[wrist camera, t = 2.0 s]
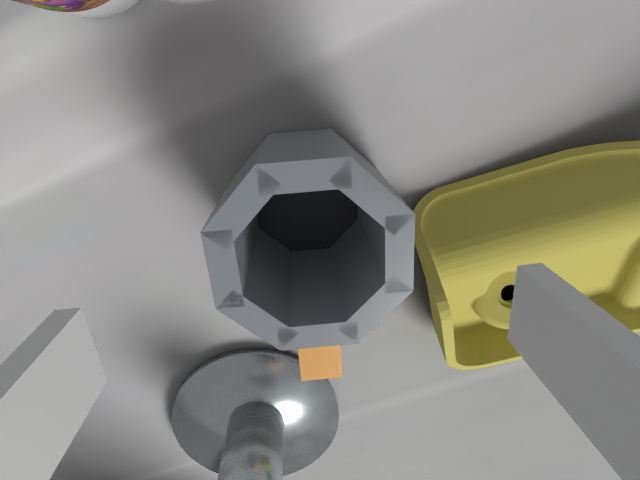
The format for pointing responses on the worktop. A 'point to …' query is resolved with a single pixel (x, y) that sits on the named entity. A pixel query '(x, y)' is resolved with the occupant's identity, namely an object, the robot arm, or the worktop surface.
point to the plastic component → (530, 243)
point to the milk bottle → (83, 6)
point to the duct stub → (254, 415)
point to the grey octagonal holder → (310, 251)
